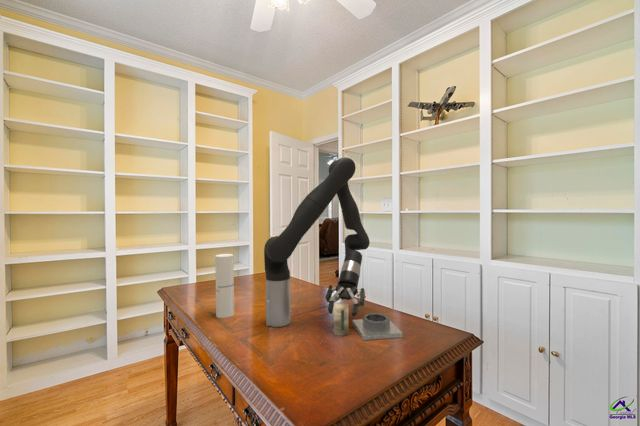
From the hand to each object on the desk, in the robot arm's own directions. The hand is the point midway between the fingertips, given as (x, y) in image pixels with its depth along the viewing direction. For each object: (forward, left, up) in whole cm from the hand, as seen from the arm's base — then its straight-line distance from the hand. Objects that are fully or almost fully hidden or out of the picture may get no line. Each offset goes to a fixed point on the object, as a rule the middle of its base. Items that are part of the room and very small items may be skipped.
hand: (341, 314), depth 104 cm
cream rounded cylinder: (0, 0, -7) cm, 7 cm away
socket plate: (+13, 0, -7) cm, 14 cm away
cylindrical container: (-44, +25, -7) cm, 51 cm away
